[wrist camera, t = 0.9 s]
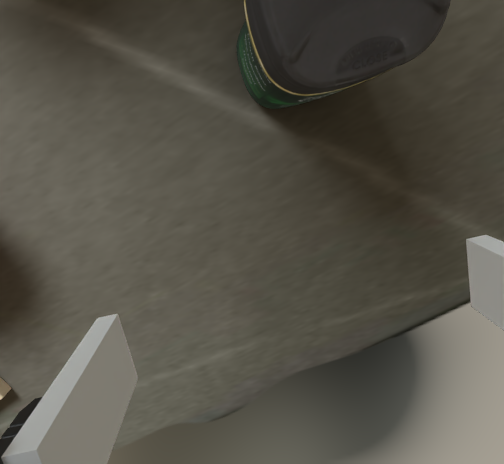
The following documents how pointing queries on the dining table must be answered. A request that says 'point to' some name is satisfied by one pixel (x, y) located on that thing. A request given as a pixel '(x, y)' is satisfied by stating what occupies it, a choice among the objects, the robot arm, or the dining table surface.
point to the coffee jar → (329, 44)
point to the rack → (3, 388)
